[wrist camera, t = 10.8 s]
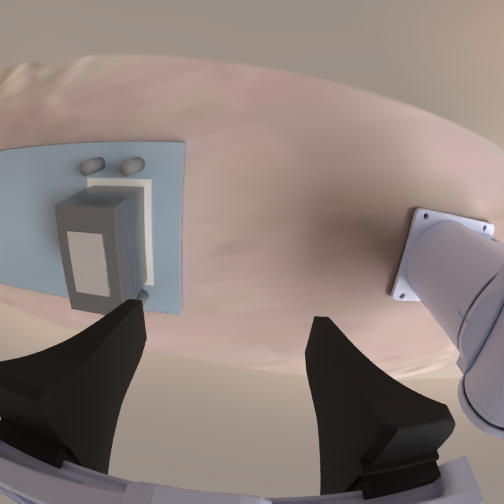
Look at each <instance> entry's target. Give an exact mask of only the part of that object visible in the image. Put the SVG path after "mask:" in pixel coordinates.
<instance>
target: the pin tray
mask: <svg viewBox="0 0 504 504" xmlns="http://www.w3.org/2000/svg"><path fill="white" fill-rule="evenodd" d="M185 145H186V142H177V141H102V142H80V143H64V144H51V145H40V146H30V147H22V148H13V149H6V150H0V283H1V284H5V285H9V286H14V287H18V288H22V289H27V290H32V291H36V292H41V293H46V294H51V295H56V296H61V297H66V298H69V294H68V290H67V285H66V280H65V275H64V270H63V264H62V258H61V252H60V246H59V239H58V231H57V223H56V214H55V205H56V204H57V203H59V202H61V201H63V200H65V199H67V198H69V197H71V196H73V195H75V194H77V193H79V192H81V191H83V190H85V189H87V188H89V187H91V186H93V185H98V186H133V187H144V221H145V249H146V267H147V281H146V283H145V284H144V286H143V288H142V289H141V291H140V293H139V294H138V296H137V298H136V299H135V300H142V303H143V310H146V311H153V312H161V313H169V314H177V315H180V314H181V311H182V212H183V183H184V162H185Z"/></svg>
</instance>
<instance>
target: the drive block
mask: <svg viewBox="0 0 504 504" xmlns="http://www.w3.org/2000/svg"><path fill="white" fill-rule="evenodd" d="M55 214H56V223H57V231H58V239H59V246H60V252H61V258H62V264H63V270H64V275H65V280H66V285H67V290H68V294H69V299H70V303H71V307H72V309H76V310H81V311H86V312H92V313H97V314H103V315H107V314H108V313H110V312H111V311H112V310H114V309H115V308H117V307H118V306H119V305H121V304H122V303H123V302H125V301H126V300H128V299H136V298H137V296H138V294H139V293H140V291H141V289H142V288H143V286H144V284H145V283H146V281H147V267H146V249H145V221H144V187H133V186H98V185H93V186H91V187H89V188H87V189H85V190H83V191H81V192H79V193H77V194H75V195H73V196H71V197H69V198H67V199H65V200H63V201H61V202H59V203H57V204H56V205H55Z"/></svg>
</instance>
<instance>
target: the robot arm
mask: <svg viewBox="0 0 504 504" xmlns="http://www.w3.org/2000/svg"><path fill="white" fill-rule="evenodd" d="M425 213H427V215H426V217H425V218H424V214H425ZM483 226H484V228H483ZM493 232H494V225H493V224H491V223H489V222H484V221H480V220H476V219H472V218H467V217H463V216H458V215H453V214H449V213H444V212H439V211H434V210H429V209H424V208H417V209H416V210H415V212H414V215H413V219H412V224H411V227H410V231H409V235H408V239H407V243H406V246H405V250H404V253H403V257H402V260H401V263H400V267H399V270H398V273H397V276H396V280H395V283H394V286H393V289H392V292H391V297H392V299H393V300H397V301H422V302H423V304H424V305H425V306H426V307H427V309H428V310H429V311H430V313H431V314H432V315H433V316H434V318H435V319H436V320H437V322H438V323H439V324H440V326H441V327H442V328H443V330H444V331H445V332H446V334H447V335H448V337H449V338H450V339H451V341H452V342H453V343H454V345H455V346H456V348H457V349H458V350H459V352H460V354H459V358H458V360H457V362H456V364H457V365H458V367H459V368H460V370H461V371H462V373H463V374H464V375H463V376H462V378H461V380H460V382H459V385H458V398H459V402H460V405H461V407H462V409H463V412H464V413H465V415H466V416H467V418H468V419H469V420H470V422H471V423H472V424H473V425H474V426H476V427H477V428H478V429H480V430H481V431H483V432H485V433H487V434H489V435H493V436H496V437H499V438H501V439H503V440H504V243H502V242H501V241H499V240H498V239H496V238H495V237H493ZM402 293H403V295H402V296H400V295H401V294H402ZM146 338H147V337H146V329H145V321H144V312H143V303H142V300H135V299H128V300H126V301H125V302H123V303H122V304H121V305H119V306H118V307H117V308H115V309H114V310H112V311H111V312H110V313H108V314H107V315H106V316H104V317H103V318H101V319H100V320H99V321H97V322H96V323H94V324H93V325H91V326H90V327H88V328H86V329H85V330H83V331H82V332H80V333H79V334H77V335H75V336H73V337H71V338H70V339H68V340H66V341H64V342H62V343H60V344H57V345H55V346H52V347H50V348H48V349H46V350H43V351H40V352H37V353H34V354H31V355H28V356H24V357H20V358H16V359H11V360H6V361H1V362H0V417H1V420H0V493H2V494H3V495H5V496H6V497H8V498H9V499H11V500H13V501H14V502H17V503H18V504H483V503H484V498H483V496H482V493H481V491H480V488H479V486H478V483H477V481H476V478H475V476H474V474H473V471H472V469H471V467H470V464H469V462H468V459H467V457H466V456H463V457H460V458H457V459H454V460H451V461H448V462H446V463H443V464H442V465H440V466H437V463H436V460H438V459H439V455H438V452H437V449H438V448H439V447H440V446H441V445H442V444H443V443H444V442H445V441H446V440H447V439H448V437H449V436H450V435H451V434H452V432H453V430H454V427H455V421H454V419H453V417H452V415H451V413H450V411H449V409H448V407H447V405H445V404H442V403H440V402H437V401H434V400H432V399H430V398H427V397H425V396H423V395H421V394H419V393H417V392H415V391H413V390H411V389H409V388H408V387H406V386H404V385H402V384H401V383H399V382H398V381H396V380H395V379H393V378H392V377H390V376H389V375H387V374H386V373H385V372H384V371H382V370H381V369H380V368H378V367H377V366H376V365H375V364H373V363H372V362H371V361H370V360H369V359H368V358H367V357H366V356H365V355H364V354H362V353H361V352H360V351H359V350H358V349H357V348H356V347H355V346H354V345H353V343H352V342H351V341H350V340H349V339H348V338H347V337H346V336H345V335H344V334H343V333H342V331H341V330H340V329H339V328H338V327H337V326H336V325H335V324H334V322H333V321H332V320H331V319H330V318H329V317H319V316H314V320H313V324H312V328H311V332H310V336H309V339H308V343H307V347H306V350H305V360H306V371H307V376H308V381H309V386H310V390H311V394H312V399H313V403H314V407H315V412H316V417H317V423H318V434H319V447H320V469H321V470H320V472H321V490H320V496H307V497H286V498H262V497H259V496H252V495H244V494H232V493H218V492H208V491H199V490H192V489H184V488H178V487H171V486H166V485H161V484H155V483H147V482H133V481H128V480H124V479H121V478H117V477H113V476H110V475H108V468H109V460H110V454H111V448H112V443H113V438H114V433H115V429H116V424H117V420H118V416H119V412H120V409H121V405H122V402H123V399H124V397H125V394H126V392H127V389H128V387H129V385H130V382H131V380H132V378H133V375H134V373H135V371H136V368H137V366H138V364H139V361H140V359H141V356H142V353H143V349H144V346H145V342H146Z"/></svg>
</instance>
